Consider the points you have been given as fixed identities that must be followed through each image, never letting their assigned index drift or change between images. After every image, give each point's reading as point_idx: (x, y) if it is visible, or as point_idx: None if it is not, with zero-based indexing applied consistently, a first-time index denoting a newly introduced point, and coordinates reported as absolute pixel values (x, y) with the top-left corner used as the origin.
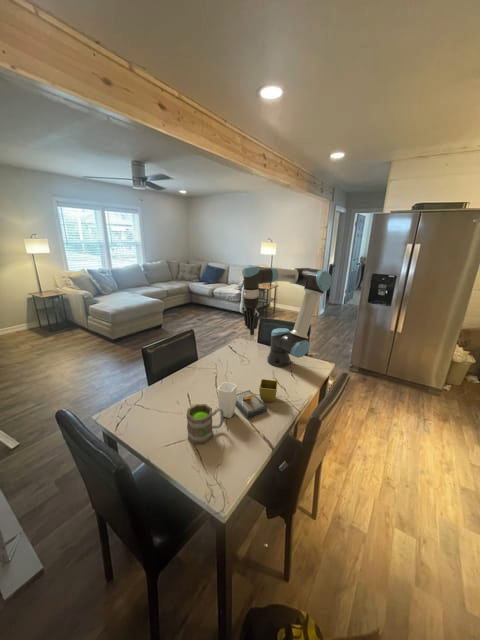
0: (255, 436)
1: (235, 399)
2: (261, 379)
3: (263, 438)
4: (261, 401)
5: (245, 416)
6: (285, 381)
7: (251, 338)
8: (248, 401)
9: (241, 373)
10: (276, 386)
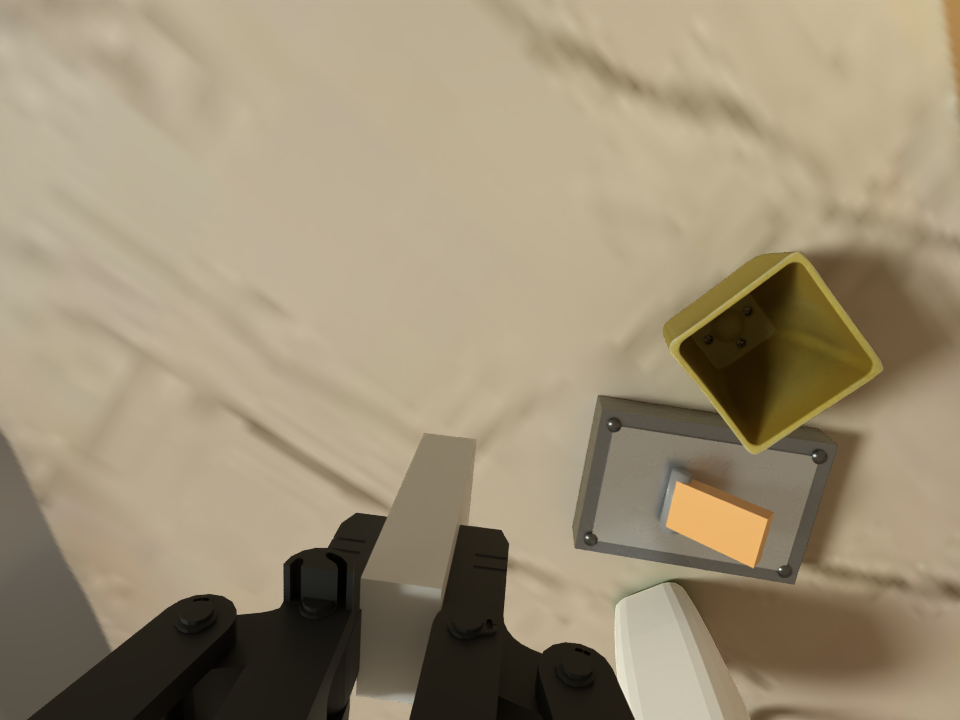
0: (907, 616)
1: (722, 660)
2: (674, 353)
3: (951, 596)
4: None
5: None
6: (657, 2)
7: (467, 506)
8: None
9: (321, 241)
10: (850, 329)
